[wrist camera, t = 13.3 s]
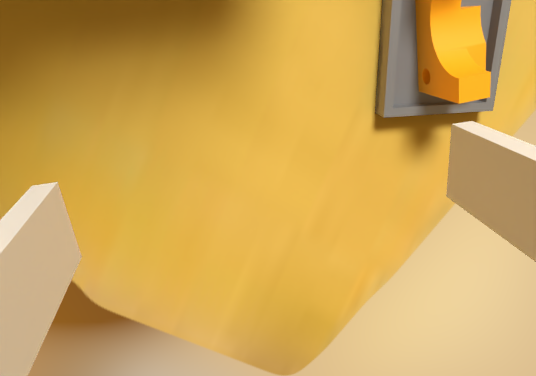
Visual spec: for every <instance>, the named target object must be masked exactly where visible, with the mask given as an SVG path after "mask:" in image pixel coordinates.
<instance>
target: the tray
mask: <svg viewBox="0 0 536 376" xmlns="http://www.w3.org/2000/svg"><path fill="white" fill-rule="evenodd" d="M510 5H511V0H462V1H461V7H466V6H481V14H480V15H481V27H482V32H483V36H484V39H485V42H486V71H489V72H491V84H490V97H488V98H484V99H479V100H474V101H470V102H465V103H461V104H458V103H455V102H451V101H448V100H445V99H442V98H439V97H435V96H432V95H429V94H426V93H422V92H419V87H418V59H417V32H416V5H415V0H382V14H381V30H380V45H379V60H378V76H377V91H376V106H375V113H376V114H378V115H380V116H382V117H384V118H385V117H400V116H416V115H432V114H447V113H463V112H479V111H493V107H494V101H495V95H496V89H497V83H498V77H499V71H500V65H501V59H502V53H503V47H504V41H505V35H506V29H507V23H508V17H509V11H510Z"/></svg>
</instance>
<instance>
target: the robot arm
mask: <svg viewBox="0 0 536 376" xmlns="http://www.w3.org/2000/svg"><path fill="white" fill-rule="evenodd" d="M446 196H447V197H448V198H449V199H451V200H452V201H453V202H455V203H456V204H458V205H459V206H460V207H462V208H463V209H464V210H466V211H467V212H468V213H470V214H471V215H473V216H474V217H475V218H477V219H478V220H480V221H481V222H482V223H483V224H485V225H486V226H488V227H489V228H490V229H492V230H493V231H494V232H496V233H497V234H498V235H500V236H501V237H502V238H504V239H505V240H507V241H508V242H509V243H511V244H512V245H513V246H515V247H516V248H517V249H519V250H520V251H522V252H523V253H525V254H526V255H527V256H529V257H530V258H531V259H533V260H534V261H535V262H536V146H535V145H532V144H530V143H527V142H524V141H522V140H519V139H517V138H514V137H512V136H509V135H507V134H504V133H502V132H499V131H496V130H494V129H491V128H489V127H486V126H484V125H481V124H479V123H476V122H474V121H469V122H462V123H456V124H452V127H451V141H450V155H449V168H448V182H447V195H446ZM81 258H82V256H81V253H80V250H79V247H78V244H77V241H76V238H75V234H74V231H73V228H72V225H71V222H70V219H69V216H68V213H67V210H66V207H65V203H64V200H63V197H62V194H61V191H60V188H59V185H58V182H55V183H48V184H41V185H34V186H31V187H30V189H29V190H28V191H27V192H26V193H25V194H24V195H23V196H22V197H21V198H20V199H19V200H18V201H17V203H16V204H15V205H14V206H13V207H12V208H11V209H10V210H9V211H8V212H7V213H6V214H5V215H4V217H3V218H2V219H1V220H0V376H28V374H29V372H30V369H31V367H32V365H33V363H34V361H35V359H36V356H37V354H38V352H39V350H40V347H41V345H42V343H43V341H44V339H45V337H46V334H47V332H48V330H49V328H50V326H51V323H52V321H53V319H54V317H55V315H56V313H57V310H58V308H59V306H60V303H61V302H62V299H63V297H64V295H65V293H66V291H67V288H68V286H69V284H70V282H71V280H72V277H73V275H74V273H75V271H76V269H77V266H78V264H79V262H80V260H81Z"/></svg>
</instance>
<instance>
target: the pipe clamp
mask: <svg viewBox="0 0 536 376" xmlns="http://www.w3.org/2000/svg"><path fill="white" fill-rule="evenodd" d="M461 1H462V0H415V5H416V32H417V59H418V87H419V92H422V93H426V94H429V95H432V96H435V97H439V98H442V99H445V100H448V101H451V102H455V103H458V104H461V103H465V102H470V101H474V100H479V99H484V98H488V97H490V84H491V72H489V71H486V42H485V39H484V36H483V32H482V27H481V15H480V14H481V6H466V7H461Z"/></svg>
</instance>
